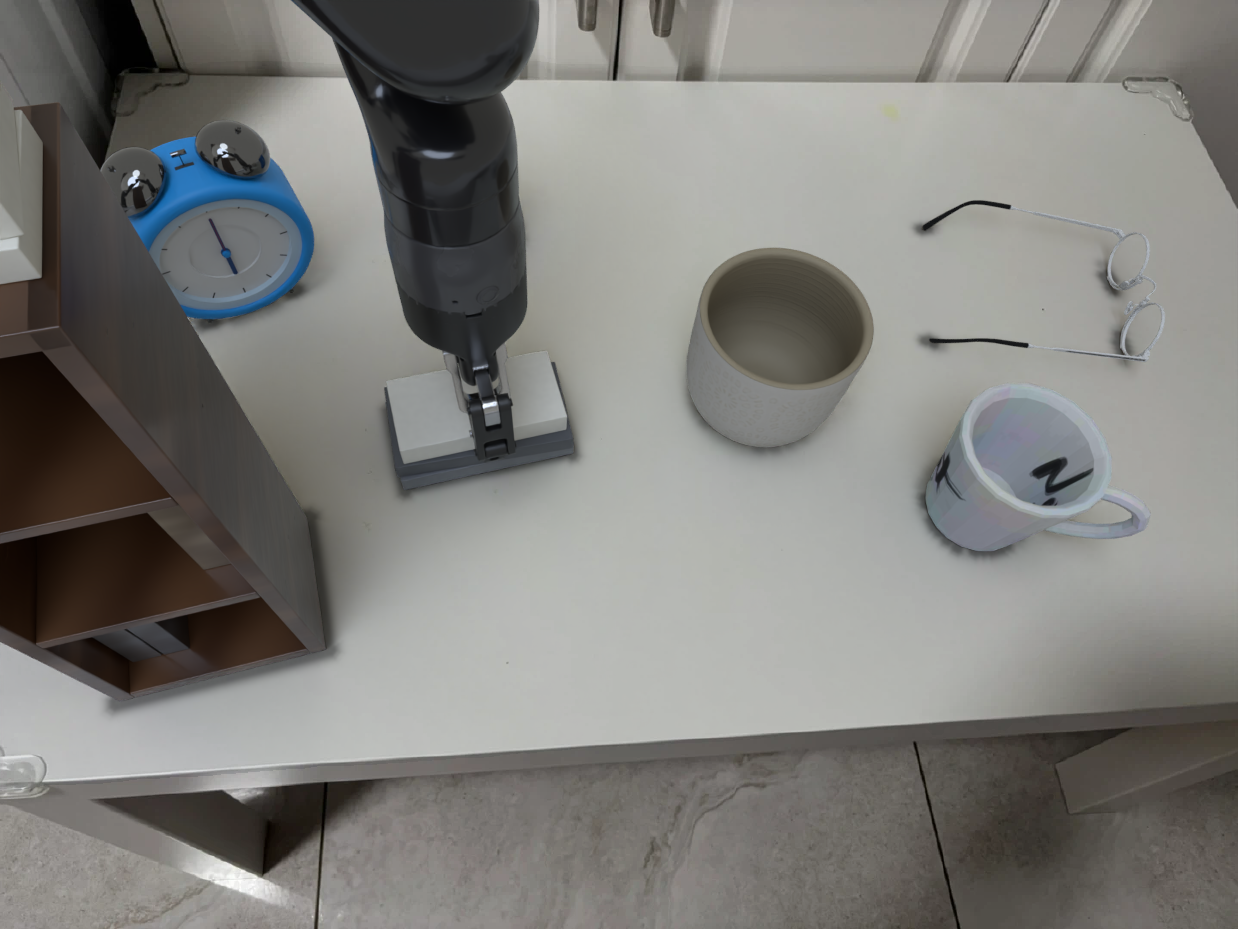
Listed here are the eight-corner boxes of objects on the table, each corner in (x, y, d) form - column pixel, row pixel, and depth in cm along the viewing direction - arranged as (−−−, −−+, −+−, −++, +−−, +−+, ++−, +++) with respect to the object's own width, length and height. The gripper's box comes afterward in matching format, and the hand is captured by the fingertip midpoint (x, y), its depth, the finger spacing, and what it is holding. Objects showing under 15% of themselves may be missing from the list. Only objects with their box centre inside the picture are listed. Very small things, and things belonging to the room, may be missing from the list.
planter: (840, 360, 72) (887, 275, 62) (811, 485, 66) (857, 413, 57) (699, 317, 73) (723, 227, 63) (658, 437, 67) (678, 357, 58)
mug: (926, 428, 70) (982, 358, 61) (1105, 505, 68) (1189, 444, 59) (889, 533, 65) (944, 474, 56) (1080, 620, 63) (1168, 572, 54)
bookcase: (119, 701, 55) (-461, 414, 23) (114, 560, 59) (-381, 153, 27) (326, 650, 58) (60, 326, 26) (307, 518, 62) (59, 100, 30)
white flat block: (403, 464, 61) (399, 451, 59) (389, 395, 64) (385, 380, 62) (566, 430, 63) (567, 416, 62) (546, 364, 66) (547, 349, 64)
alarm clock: (174, 345, 68) (85, 207, 54) (150, 289, 70) (58, 144, 57) (333, 286, 71) (285, 144, 58) (305, 235, 74) (254, 87, 60)
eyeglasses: (1142, 388, 73) (1180, 354, 69) (928, 356, 73) (952, 320, 69) (1114, 247, 81) (1147, 208, 76) (920, 217, 81) (941, 177, 76)
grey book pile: (402, 495, 63) (396, 476, 61) (385, 408, 66) (378, 387, 64) (576, 456, 66) (578, 437, 63) (552, 375, 69) (552, 354, 66)
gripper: (372, 174, 51) (410, 337, 65) (414, 371, 45) (447, 502, 59) (497, 156, 52) (508, 319, 66) (555, 344, 46) (553, 478, 60)
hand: (479, 405), depth 63 cm, fingers open, 8 cm apart
